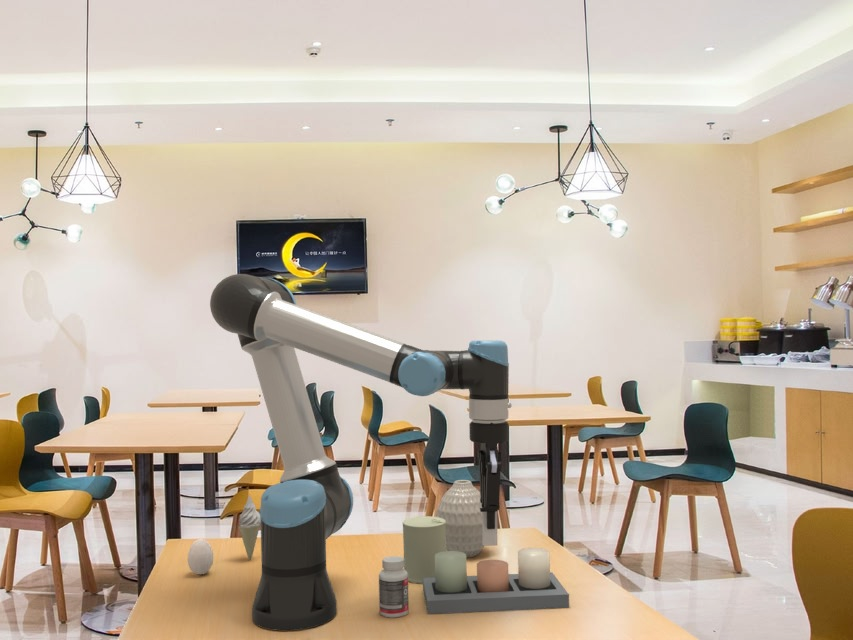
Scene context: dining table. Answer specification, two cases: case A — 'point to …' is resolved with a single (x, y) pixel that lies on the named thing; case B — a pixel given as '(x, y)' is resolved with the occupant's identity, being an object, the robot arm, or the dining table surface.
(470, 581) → the board
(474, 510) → the vase
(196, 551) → the egg
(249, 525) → the ice cream cone
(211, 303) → the robot arm
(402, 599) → the pill bottle
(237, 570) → the dining table surface
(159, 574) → the dining table surface
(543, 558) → the cream cylinder
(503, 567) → the pink cylinder
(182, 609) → the dining table surface
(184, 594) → the dining table surface
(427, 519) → the can
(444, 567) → the pale green round piece
